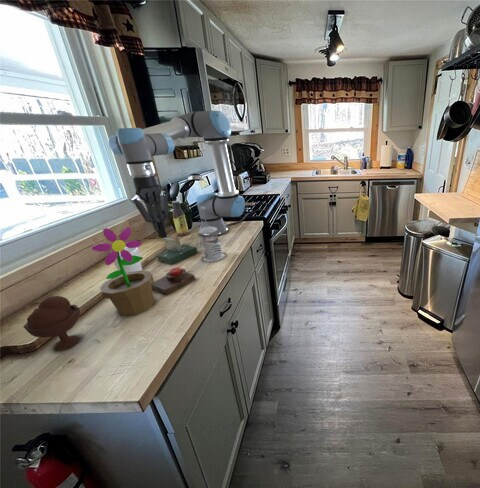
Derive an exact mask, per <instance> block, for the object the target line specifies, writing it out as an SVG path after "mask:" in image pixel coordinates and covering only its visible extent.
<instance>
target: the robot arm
mask: <svg viewBox="0 0 480 488" xmlns="http://www.w3.org/2000/svg"><path fill="white" fill-rule="evenodd" d="M115 131H116V134H113V135H111V136H110V137H109V138H108V143H107V144H108V147H109V149H110V150H111V152H113V154H115V155H117V156H119V157H120V156H122V157H123V158H124V161H125V163H126V166H127V169H128V172H129V175H130V176H131V181H132V185H133V188H134V189H135V196H134V197H133V198H130V199H129V201H130V202H131V203H132V204H133V205H135V207H136V209H137V210H138V212H139V213H140V215H141V216H142V218H143V219H144V221H145V222H146V223H152V227H153V230H154V231H156V232H157V235H158V237H159V238H160V239H164V238H166V237H168V235H167V232H166V228H167V225H166V220H167V218H169V202H168V201H169V199H168V197H169V194H170V193H169V192H168V191H164V190H162V188H161V187H160V185H159V184H160V183H159V180H158V176H157V175H156V170H155V167H154V164H153V159H152V157H156V156H163V155H165V156H167V155H169V154H172V153H173V152H174V151H175V148H176V147H175V140H178V139H180V140H181V139H182V140H185V139H188V138H203V142H204V143H206V145H207V146H208V149H209V154H210V158H211V162H212V168H213V172H214V175H215V180H216V184H217V188H218V192H208V193H204V194H201V195H198V196H196V199H195V200H196V206H197V207H196V208H197V210H198V214H199V218H200V226H199V230H201V229H202V228H204V227H209V226H211V227H215V228H217V231H215V232H213V233H210V234H200V236H201V237H208V236H217V237H218V236H222V235H224V234H226V233H227V232H228V230H229V229H228V226H232V225H235V224H239V223H241V222H242V221H244V219H246V218H247V216H248V215H250V214H253V213H256V212H257V211H263V209H262V208H257V209H256V210H253V211H251V212H248V213H247V214H245V215H244V217H243V218H242V219H240V220H239V221H236V222H235V221H234V222H231V223H228V224H226V223H225V221H224V219H223V217H231V218H236V217H237V218H238V217H241V216H242V215H243V214H244V212H245V208H246V201H245V198H244V196H242V195H240V192H239V190H237V189H236V186H235V182H234V177H233V171H232V165H231V162H230V156H229V152H228V146H227V143H228V142H229V137H230V136H231V134H232V126H231V122H230V120H229V118H228V117H227V115H226V114H225V113H224V112H223V111H221V110H202V111H190V112H187V113H183V114H181V115H179V116H178V115H177V116H175V117H172V118H171V119H170V121H166V122H163V123H160V124H156V125H153V126H149V127H146V128H141V127H119V128H117V129H116V130H115ZM142 201H143V203H142ZM144 205H145V206H144ZM201 207H205V209H203V210H204V212H203V210H201ZM204 214H205V217H204ZM205 219H206V221H205ZM206 223H207V225H206Z"/></svg>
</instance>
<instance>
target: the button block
mask: <svg viewBox="0 0 480 488" xmlns="http://www.w3.org/2000/svg"><path fill="white" fill-rule="evenodd" d="M181 271H182V273H181V274H179V275H176V276H171V275H170V272H169V271H168V272H167V273H166V274H165V276H163V277H161V278H159V279H156V280H154V281H153V282H152V284H151V287H152V290H154V291H157V292H159V293H161V294H164V295H167V296H168V295H169V294H171V293H173V292H175V291H177V290H179V289H180V288H182V287H184V286H186V285H187V284H190V283H192V282H194V281H195V280H196V277H195V274H192V273H189V272H187V270H186V269H185V268H181Z"/></svg>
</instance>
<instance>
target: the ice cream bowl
mask: <svg viewBox="0 0 480 488" xmlns="http://www.w3.org/2000/svg"><path fill="white" fill-rule="evenodd" d="M80 317H81V309H80V307H78V305H76V304H71V302H70V300H69V299H67V298H66V297H64V296H61V295H53V296H48V297H46V298H44V299H42V301H40V303H39V304H38V307H36V308H34V310H33V311H32V312H31V313H30V314H29V315H28V316H27V318H26V323H25V324H24V325H23V328H24V329H25V331H26V332H27V333H29V334H30V335H31V336H33V337H35V338H52V337H58V338H59V341H57V342H56V343H55V345H54V346H53V349H54V350H55V351H57V352H58V351H64V350H67V349H70V348H72V347H73V346H75V345H76V344H78V343H79V341H80V340H81V338H80V337H79V335H68V332H69V331H70V330H71V329H72V328H73V327H74V326H75V325H76V323H77V322H78V320H79V319H80Z"/></svg>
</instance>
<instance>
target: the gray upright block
mask: <svg viewBox="0 0 480 488" xmlns="http://www.w3.org/2000/svg"><path fill="white" fill-rule="evenodd" d="M163 241H164V245H165V248H166V251H167V252H173V253H180V252H182V248H181V245H182V244H181V241H180V238H179V237H177V236H176V237H175V236H174V237H173V236H167V237H166V238H163Z"/></svg>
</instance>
